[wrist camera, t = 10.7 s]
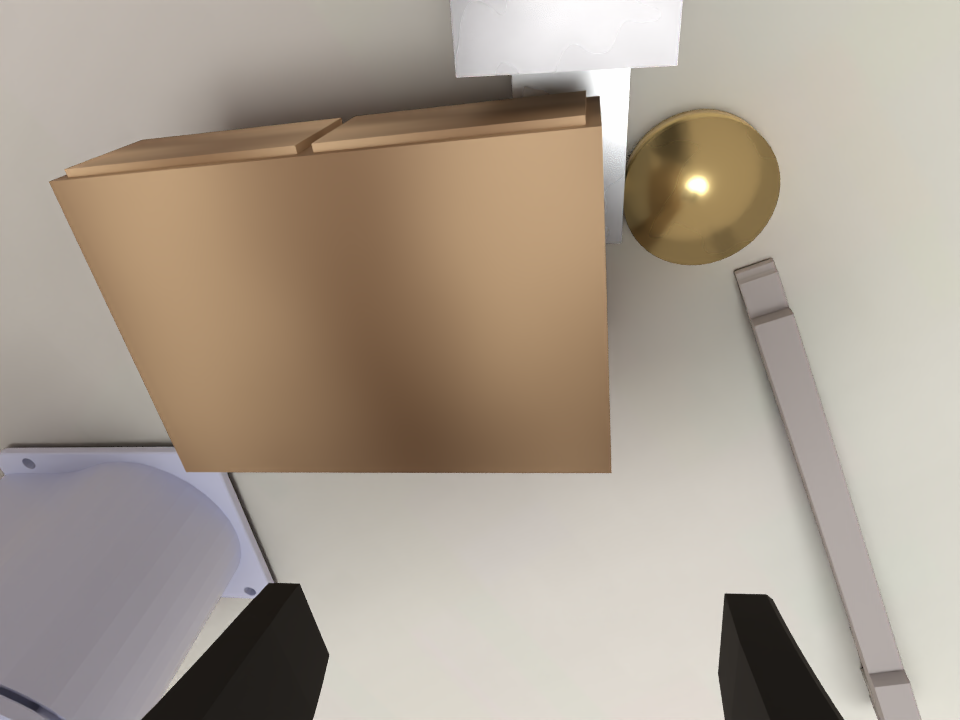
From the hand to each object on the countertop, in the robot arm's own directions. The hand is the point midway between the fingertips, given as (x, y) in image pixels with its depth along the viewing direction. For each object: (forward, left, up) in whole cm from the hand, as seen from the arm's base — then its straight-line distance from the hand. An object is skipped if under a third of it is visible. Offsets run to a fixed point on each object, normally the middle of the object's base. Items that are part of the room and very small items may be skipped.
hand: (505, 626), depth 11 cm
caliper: (+9, -7, -10) cm, 16 cm away
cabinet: (-3, +4, -10) cm, 11 cm away
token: (+4, +4, -10) cm, 12 cm away
